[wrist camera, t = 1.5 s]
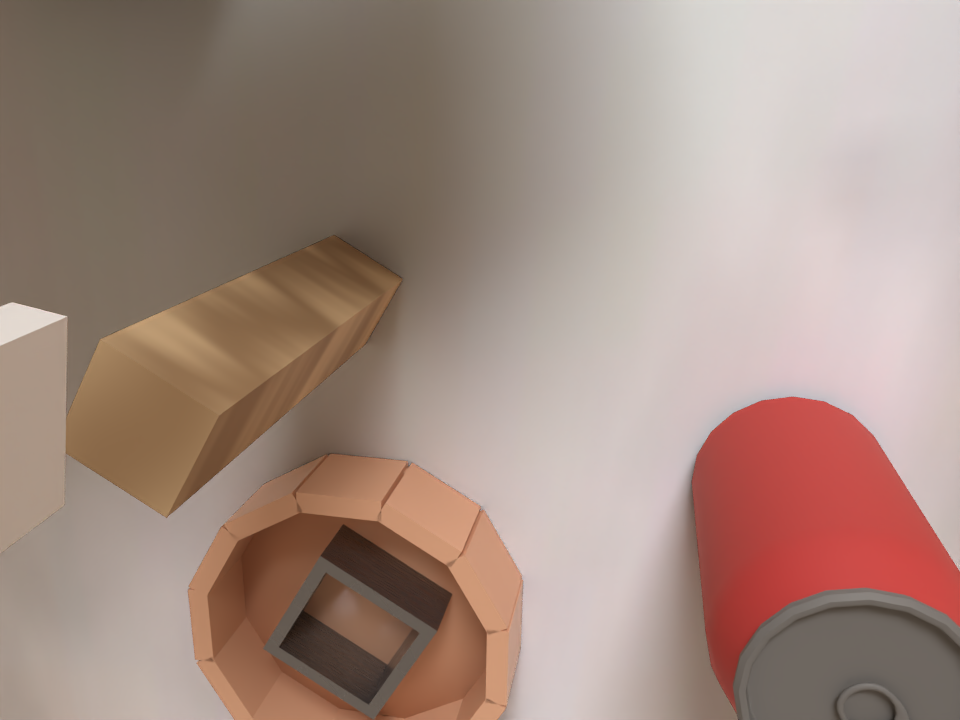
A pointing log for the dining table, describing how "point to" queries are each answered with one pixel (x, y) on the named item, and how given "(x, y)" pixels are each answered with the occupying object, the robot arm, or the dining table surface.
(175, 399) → the tall wooden post
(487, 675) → the shallow terracotta dish
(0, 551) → the robot arm
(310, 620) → the clip
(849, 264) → the dining table surface
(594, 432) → the dining table surface
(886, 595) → the beer can
